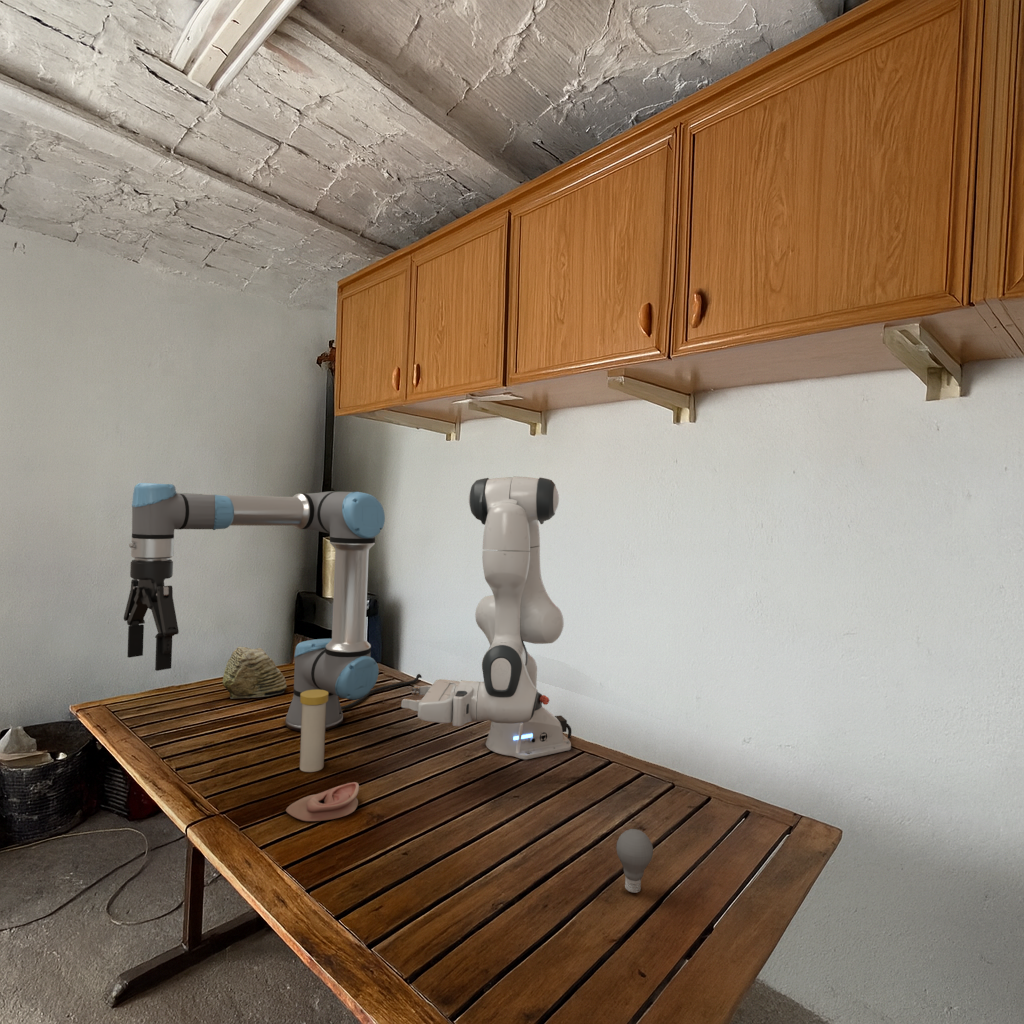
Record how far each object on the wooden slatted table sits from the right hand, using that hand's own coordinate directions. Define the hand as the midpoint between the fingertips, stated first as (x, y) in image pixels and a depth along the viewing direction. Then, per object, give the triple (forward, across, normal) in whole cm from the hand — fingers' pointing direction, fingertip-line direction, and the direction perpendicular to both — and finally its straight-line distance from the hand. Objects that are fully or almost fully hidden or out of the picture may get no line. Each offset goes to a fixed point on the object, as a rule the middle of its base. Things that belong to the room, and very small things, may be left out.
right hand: (407, 696), depth 146 cm
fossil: (+60, -46, +18) cm, 78 cm away
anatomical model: (+12, +19, +18) cm, 29 cm away
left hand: (+49, +21, -10) cm, 54 cm away
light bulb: (-48, +37, +18) cm, 64 cm away
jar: (+22, 0, +18) cm, 28 cm away
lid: (+22, +1, +1) cm, 22 cm away
